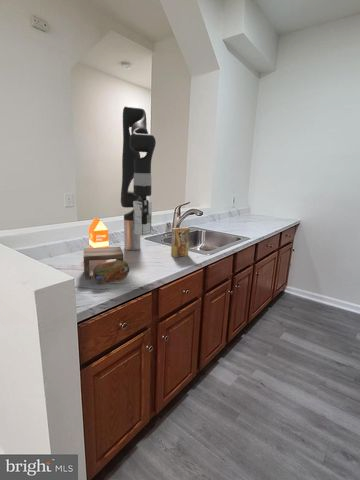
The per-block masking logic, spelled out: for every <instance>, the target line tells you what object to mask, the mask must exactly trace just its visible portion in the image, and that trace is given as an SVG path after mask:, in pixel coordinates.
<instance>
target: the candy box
mask: <svg viewBox="0 0 360 480" xmlns="http://www.w3.org/2000/svg"><path fill="white" fill-rule="evenodd" d="M189 242H190V228H189V227H186V226H184V227H183V226H182V227H172V228H171V245H170V246H171V247H170V248H171V249H170V250H171V251H170V252H171V253H170V255H171V256H172V257H173V258H178V257H179V258H180V257H185V256H189V246H190V245H189V244H190V243H189Z"/></svg>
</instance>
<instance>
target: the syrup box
mask: <svg viewBox="0 0 360 480" xmlns="http://www.w3.org/2000/svg"><path fill="white" fill-rule="evenodd" d="M148 201H149V202H148V213H149V214H148V215H147V224H142V223H141V211H140V206H141V208H142V203H141V202H139V201H133V207H132V210H133V233H134V234H138V235H140V236H146V235H151V234H152V215H153V214H152V212H153V210H152V209H153V205H152V204H153V202H152V201H150V200H148ZM144 212H146V211H144Z"/></svg>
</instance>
